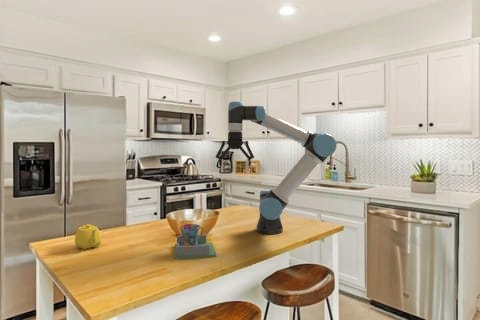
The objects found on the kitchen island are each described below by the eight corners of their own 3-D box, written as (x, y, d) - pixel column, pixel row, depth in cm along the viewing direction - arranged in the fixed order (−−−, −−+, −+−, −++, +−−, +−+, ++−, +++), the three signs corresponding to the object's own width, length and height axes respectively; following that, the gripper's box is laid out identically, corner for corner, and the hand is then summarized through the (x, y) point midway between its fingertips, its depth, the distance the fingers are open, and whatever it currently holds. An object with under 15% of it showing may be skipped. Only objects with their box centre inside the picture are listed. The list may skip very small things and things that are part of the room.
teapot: (107, 249, 150) (107, 226, 149) (82, 255, 143) (81, 231, 142) (94, 240, 163) (94, 219, 163) (70, 245, 156) (70, 223, 155)
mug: (187, 254, 142) (187, 230, 142) (175, 248, 149) (175, 226, 148) (208, 248, 150) (208, 225, 150) (197, 243, 157) (197, 221, 157)
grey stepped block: (212, 243, 160) (212, 233, 160) (216, 256, 142) (216, 245, 142) (174, 245, 157) (174, 235, 156) (174, 258, 139) (174, 247, 139)
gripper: (256, 132, 176) (255, 171, 177) (210, 131, 171) (210, 171, 173) (259, 131, 169) (259, 172, 170) (212, 130, 164) (212, 172, 165)
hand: (234, 171), depth 171 cm, fingers open, 13 cm apart
